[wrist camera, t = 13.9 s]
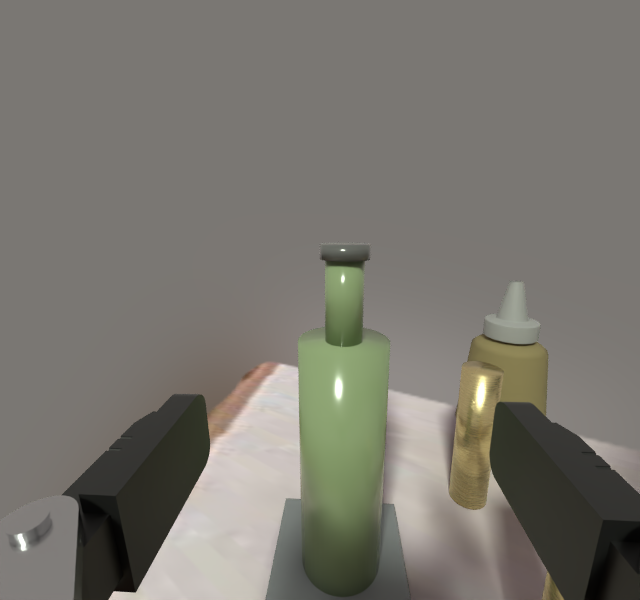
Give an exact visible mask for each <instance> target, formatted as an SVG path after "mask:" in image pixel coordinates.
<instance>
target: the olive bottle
mask: <svg viewBox="0 0 640 600" xmlns="http://www.w3.org/2000/svg"><path fill="white" fill-rule="evenodd" d="M370 250H371V244H366V243H323V244H320V259H321V260H325V327H322V328H317V329H313V330H311V331H308V332H305V333H304V334H302V335H301V336H300V337H299V339H298V364H299V365H298V369H299V424H300V479H301V534H302V563H303V568H304V571H305V573H306V575H307V577H308V578H309V580H310V581H311V582H312V584H313V585H314V586H315V587H317V588H318V589H319V590H321V591H322V592H324V593H326V594H329V595H332V596H336V597H350V596H354V595H357V594H359V593H361V592H363V591H364V590H366V589H367V588H368V587H369V586H370V585H371V584H372V583H373V581H374V579H375V578H376V575H377V573H378V569H379V560H380V540H381V519H382V499H383V479H384V459H385V439H386V419H387V399H388V378H389V357H390V340H389V339H388V338H387V337H386V336H385V335H383V334H381V333H379V332H377V331H374V330H370V329H366V328H363V300H364V267H365V261H367V260H370Z"/></svg>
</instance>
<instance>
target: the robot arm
mask: <svg viewBox="0 0 640 600" xmlns="http://www.w3.org/2000/svg"><path fill="white" fill-rule="evenodd" d="M209 451H210V438H209V429H208V420H207V412H206V403H205V399H204V397H203V396H202V395H199V394H174V395H172V396H171V397H170V398H169V399H168V401H166V402H165V404H164V405H163V406H162V407H161V408H160V409H159V410H158V411H157V412H152V413H150V414H148V415H147V416H145V417H143V418H142V419H140V420H139V421H137V422H135V423H134V424H133V425H132V426H131V427H130V428H129V429H128V430H127V431H126V432H125V433H124V434H123V435H122V436H121V438H120V439H118V440H117V441H116V442H115V443H114V444H113V445H112V446H111V447H110V448H109V451H105V453H104V454H103V455H101V456H100V457H99V458H98V460H96V462H94V463H93V464H92V465H91V466H90V468H88V469H87V470H86V471H85V473H83V474H82V475H81V476H80V477H79V478H78V479H77V480H76V481H75V482H74V483H73V484H72V485H71V486H70V487H69V488H68V489H67V490H66V491H65V492H64V493H63V494H62V495H61V496H60V495H58V496H50V497H46V498H42V499H39V500H36V501H33V502H31V503H29V504H26V505H24V506H22V507H20V508H18V509H17V510H15V511H13V512H12V513H10V514H8V515H7V516H5V517H4V518H3V519H1V520H0V600H108V599H109V598H110V596H111V594H112V593H113V591H120V592H135V593H136V591H137V589H138V587H139V586H140V584H141V582H142V580H143V578H144V577H145V575H146V573H147V571H148V569H149V568H150V566H151V564H152V562H153V560H154V558H155V557H156V555H157V553H158V551H159V549H160V548H161V546H162V544H163V542H164V540H165V539H166V537H167V535H168V533H169V531H170V529H171V528H172V526H173V524H174V522H175V520H176V519H177V517H178V515H179V513H180V511H181V510H182V508H183V506H184V504H185V502H186V500H187V499H188V497H189V495H190V493H191V491H192V490H193V488H194V486H195V484H196V482H197V481H198V479H199V477H200V475H201V473H202V471H203V470H204V468H205V466H206V463H207V461H208V457H209ZM489 457H490V465H491V469H492V472H493V475H494V477H495V479H496V481H497V483H498V485H499V486H500V488H501V490H502V492H503V493H504V495H505V497H506V499H507V501H508V502H509V504H510V506H511V508H512V509H513V511H514V513H515V515H516V516H517V518H518V520H519V522H520V523H521V525H522V527H523V529H524V530H525V532H526V534H527V536H528V537H529V539H530V541H531V543H532V544H533V546H534V548H535V550H536V551H537V553H538V555H539V557H540V558H541V560H542V562H543V564H544V565H545V567H546V569H547V571H548V572H549V574H550V576H551V578H552V580H553V581H554V583H555V585H556V587H557V588H558V590H559V592H560V594H561V595H562V597H563V599H564V600H640V494H639V493H638V492H637V491H636V490H635V489H634V488H633V487H632V486H631V485H630V484H628V483H627V482H626V481H625V480H624V479H623V478H622V477H621V476H620V475H619V474H618V473H617V472H616V471H615V470H611V468H610V466H609V465H608V464H607V463H606V462H605V461H604V460H603V459H602V458H601V457H600V456H598V455H596V453H595V451H594V450H593V449H592V448H590V447H589V446H588V445H587V444H586V443H585V442H584V441H583V440H582V439H581V438H580V437H579V436H577V435H576V434H574V433H572V432H571V431H569V430H567V429H565V428H564V427H562V426H561V425H559V424H557V423H552V422H551V421H550V420H549V419H547V417H546V416H545V415H544V414H543V413H542V412H541V411H540V410H539V409H538V408H537V407H536V406H535V405H534V404H532V403H530V402H498V403H497V405H496V407H495V412H494V420H493V428H492V436H491V443H490V452H489Z"/></svg>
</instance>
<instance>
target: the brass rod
mask: <svg viewBox="0 0 640 600" xmlns="http://www.w3.org/2000/svg"><path fill="white" fill-rule="evenodd" d="M503 375H504V371H503V370H502V369H501V368H499V367H498V366H496V365H493V364H490V363H486V362H480V361H469V362H465V363H463V365H462V371H461V381H460V390H459V400H458V409H457V419H456V428H455V438H454V447H453V457H452V467H451V476H450V486H449V493H450V496H451V498H452V499H453V500H454V501H455V502H456V503H457V504H459V505H461V506H462V507H465V508H468V509H473V510H477V509H481V508H483V507H484V506H485V505H486V500H487V493H488V485H489V478H490V471H491V465H490V457H489V452H490V443H491V436H492V428H493V420H494V412H495V407H496V405H497V403H498V402H500V397H501V390H502V382H503Z"/></svg>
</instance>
